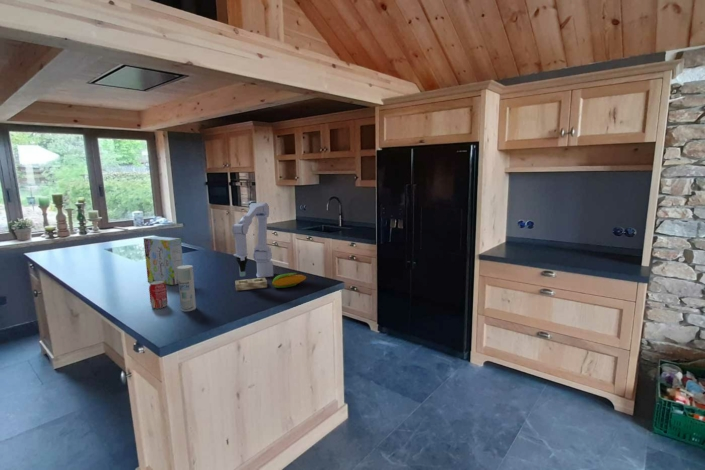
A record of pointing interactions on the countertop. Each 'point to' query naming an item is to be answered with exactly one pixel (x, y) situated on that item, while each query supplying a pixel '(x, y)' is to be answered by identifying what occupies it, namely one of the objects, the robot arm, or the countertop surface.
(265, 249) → the robot arm
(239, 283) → the hole block
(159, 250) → the snack box
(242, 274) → the peg
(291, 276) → the corn
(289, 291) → the countertop surface
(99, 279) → the countertop surface
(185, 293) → the spray can
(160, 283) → the soda can
